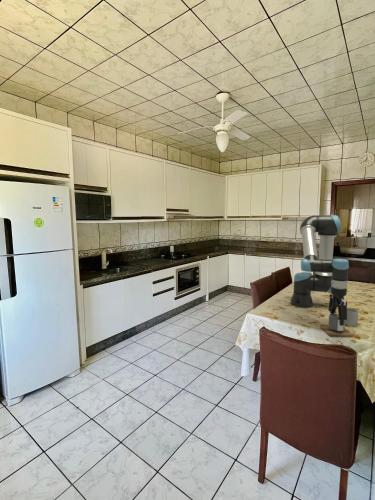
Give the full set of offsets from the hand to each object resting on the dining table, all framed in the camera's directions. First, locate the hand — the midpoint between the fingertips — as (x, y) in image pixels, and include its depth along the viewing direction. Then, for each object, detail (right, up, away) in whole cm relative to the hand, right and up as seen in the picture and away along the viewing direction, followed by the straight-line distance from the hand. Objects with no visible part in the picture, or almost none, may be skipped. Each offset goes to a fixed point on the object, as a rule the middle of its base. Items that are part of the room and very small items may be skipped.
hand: (336, 327), depth 144 cm
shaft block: (0, -3, 0) cm, 3 cm away
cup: (+13, -1, +11) cm, 17 cm away
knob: (0, 0, 0) cm, 0 cm away
